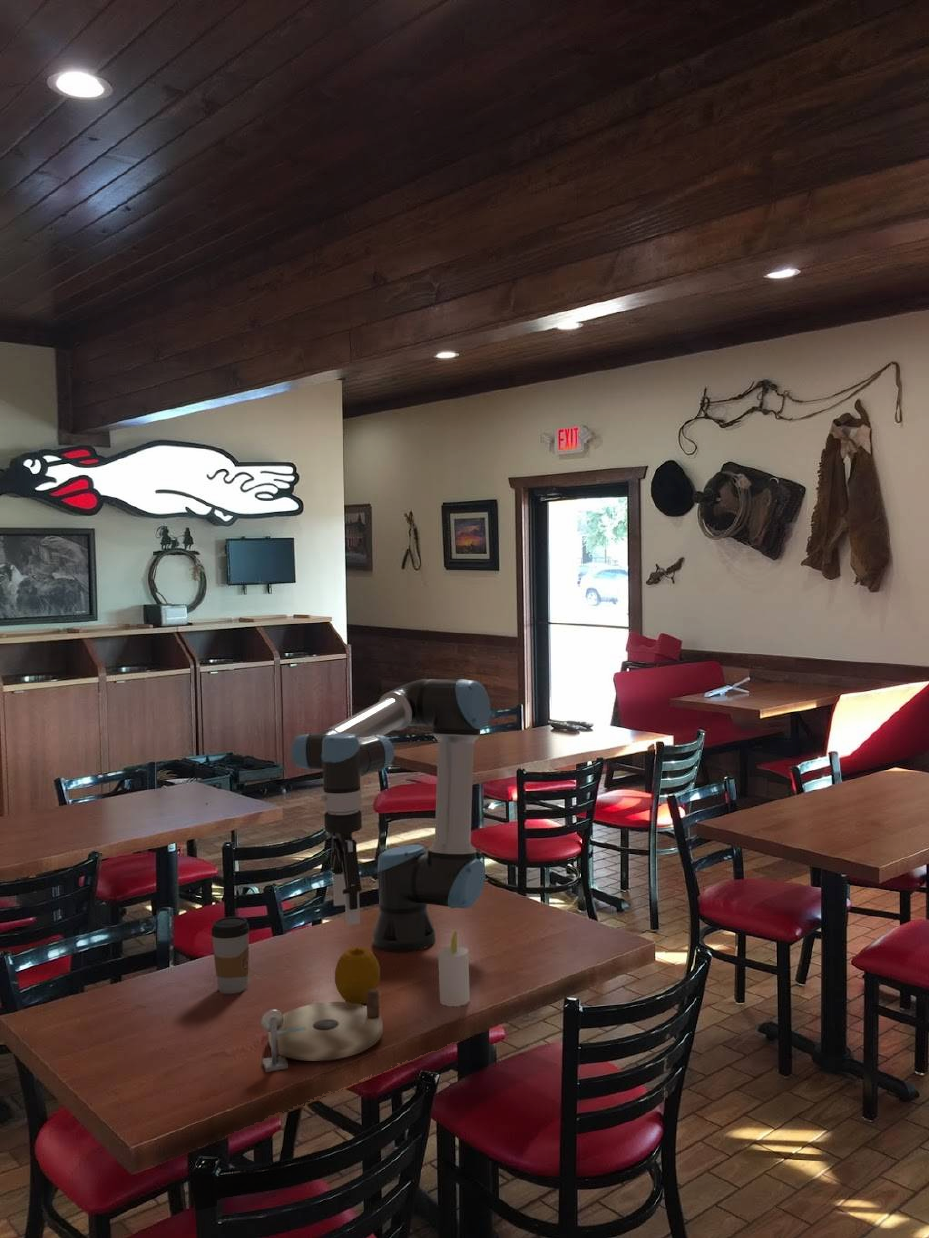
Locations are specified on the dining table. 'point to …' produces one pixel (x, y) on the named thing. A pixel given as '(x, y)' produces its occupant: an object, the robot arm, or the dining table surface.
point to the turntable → (330, 1029)
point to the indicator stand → (273, 1040)
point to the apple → (356, 974)
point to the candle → (454, 974)
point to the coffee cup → (231, 953)
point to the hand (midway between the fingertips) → (346, 914)
